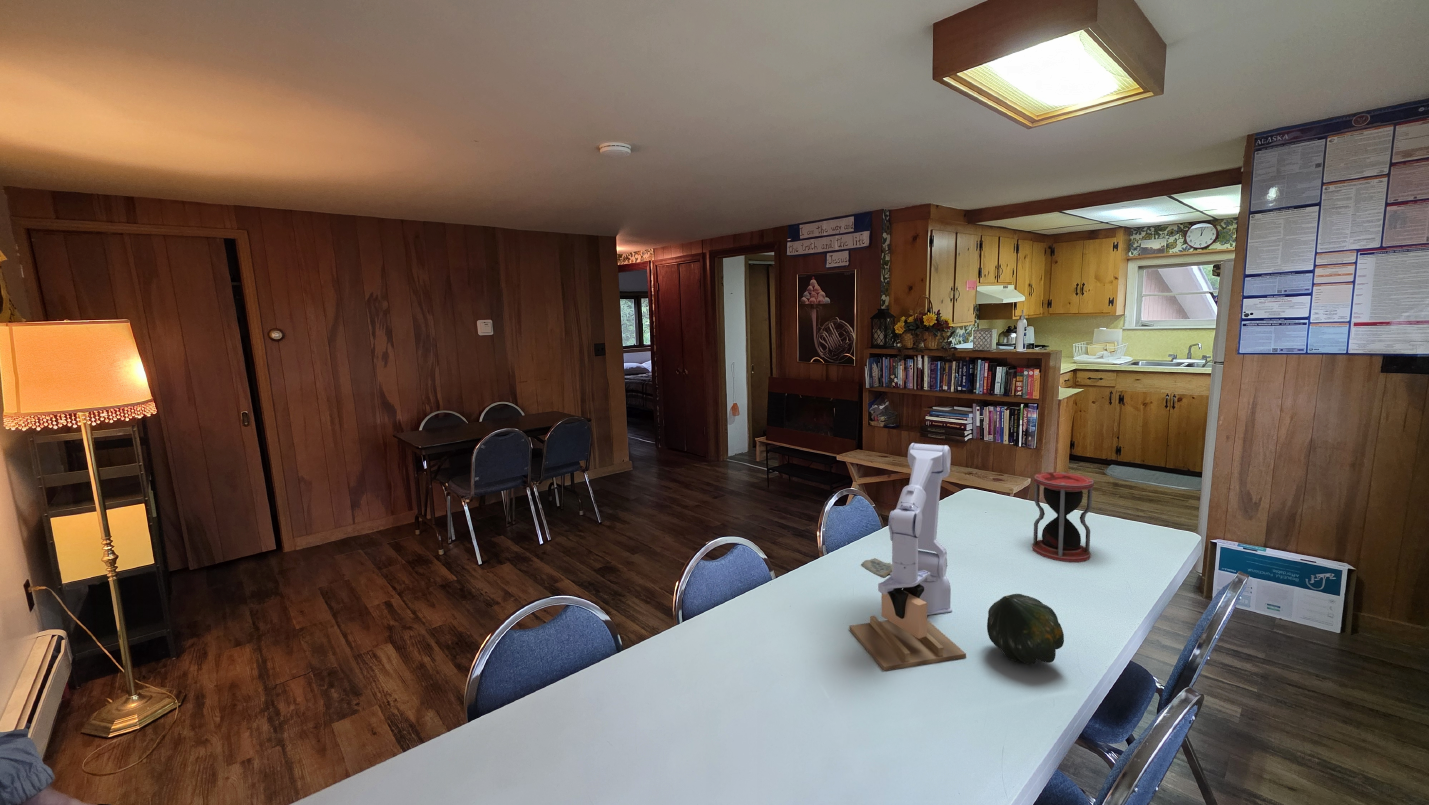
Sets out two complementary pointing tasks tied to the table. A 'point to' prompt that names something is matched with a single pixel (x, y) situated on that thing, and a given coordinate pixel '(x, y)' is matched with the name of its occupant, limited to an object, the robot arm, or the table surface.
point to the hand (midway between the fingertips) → (904, 615)
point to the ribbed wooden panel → (904, 645)
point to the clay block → (908, 615)
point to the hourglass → (1062, 517)
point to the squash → (1024, 629)
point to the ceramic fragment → (877, 567)
